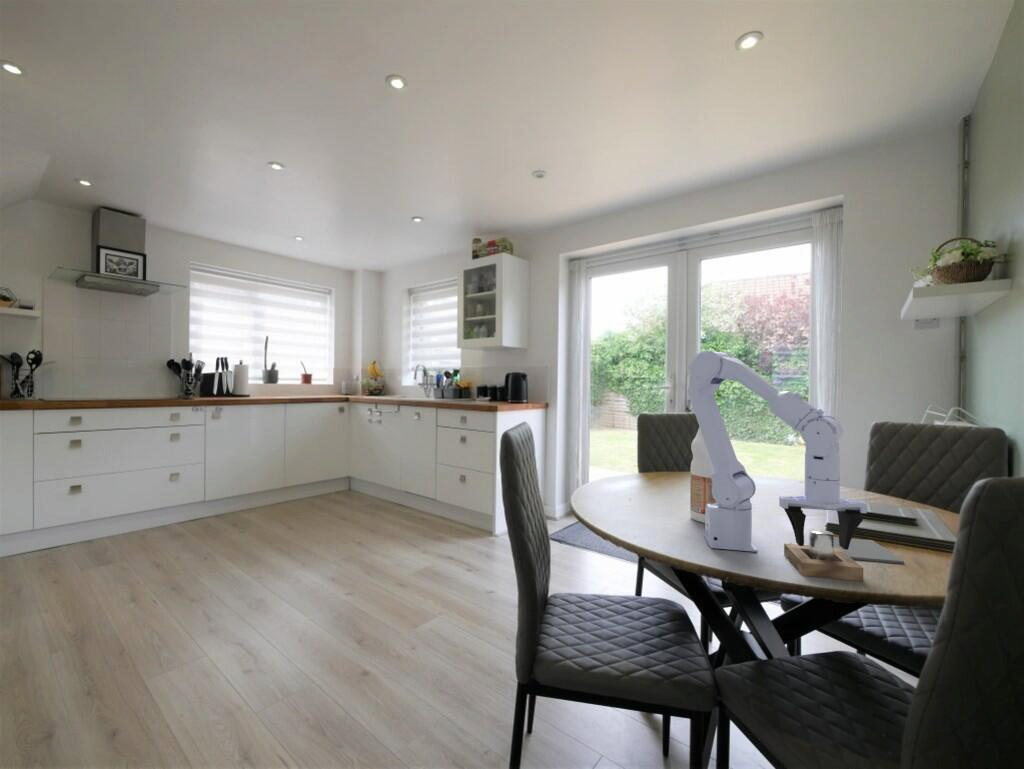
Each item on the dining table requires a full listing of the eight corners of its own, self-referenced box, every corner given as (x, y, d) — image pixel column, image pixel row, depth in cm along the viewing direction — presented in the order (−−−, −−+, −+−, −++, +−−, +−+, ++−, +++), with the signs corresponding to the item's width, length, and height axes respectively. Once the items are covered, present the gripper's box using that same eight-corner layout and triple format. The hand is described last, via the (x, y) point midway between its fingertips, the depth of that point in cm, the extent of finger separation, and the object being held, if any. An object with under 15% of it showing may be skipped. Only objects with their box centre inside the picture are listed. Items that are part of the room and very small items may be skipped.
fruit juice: (684, 519, 119) (685, 414, 118) (697, 511, 125) (698, 412, 125) (721, 527, 112) (722, 416, 112) (733, 518, 119) (734, 414, 119)
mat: (835, 557, 93) (836, 555, 93) (812, 537, 105) (812, 535, 105) (904, 563, 90) (904, 561, 90) (872, 542, 102) (872, 540, 102)
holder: (802, 575, 85) (802, 562, 85) (784, 555, 95) (784, 543, 95) (863, 581, 83) (863, 567, 83) (838, 559, 92) (838, 547, 92)
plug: (813, 570, 87) (814, 535, 87) (805, 562, 91) (805, 528, 91) (837, 572, 86) (837, 536, 86) (827, 564, 90) (828, 530, 90)
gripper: (788, 480, 86) (787, 550, 86) (875, 484, 83) (875, 557, 83) (776, 472, 93) (775, 537, 93) (856, 476, 90) (856, 543, 90)
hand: (821, 546), depth 89 cm, fingers open, 7 cm apart
